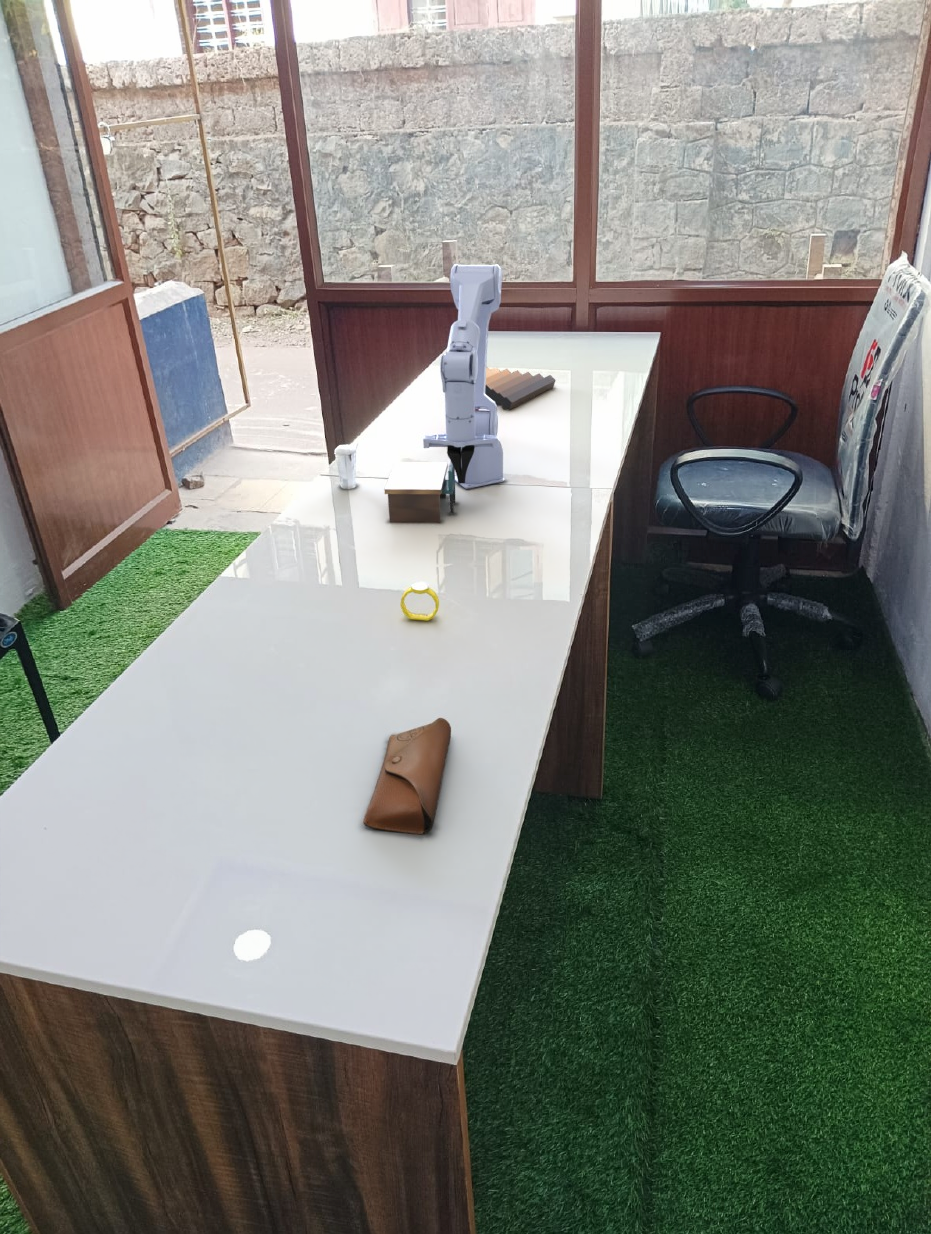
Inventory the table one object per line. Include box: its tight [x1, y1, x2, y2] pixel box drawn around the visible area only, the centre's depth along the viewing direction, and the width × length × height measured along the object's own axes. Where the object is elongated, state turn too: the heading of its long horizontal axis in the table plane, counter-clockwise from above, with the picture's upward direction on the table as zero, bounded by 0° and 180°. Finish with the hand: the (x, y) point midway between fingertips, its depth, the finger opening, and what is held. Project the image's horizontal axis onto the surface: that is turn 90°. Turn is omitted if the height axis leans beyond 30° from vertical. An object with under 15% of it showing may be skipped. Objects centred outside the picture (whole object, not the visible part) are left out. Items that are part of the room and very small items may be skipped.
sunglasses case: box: [362, 717, 452, 835], centre depth 111 cm, size 18×7×7 cm
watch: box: [400, 581, 440, 622], centre depth 145 cm, size 6×3×6 cm, turn 84°
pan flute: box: [485, 365, 556, 411], centre depth 257 cm, size 25×3×25 cm
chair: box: [442, 460, 457, 515], centre depth 183 cm, size 8×6×9 cm
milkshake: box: [334, 442, 360, 490], centre depth 195 cm, size 4×5×10 cm
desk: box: [384, 461, 449, 524], centre depth 184 cm, size 11×15×7 cm
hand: (461, 481), depth 182 cm, fingers closed
